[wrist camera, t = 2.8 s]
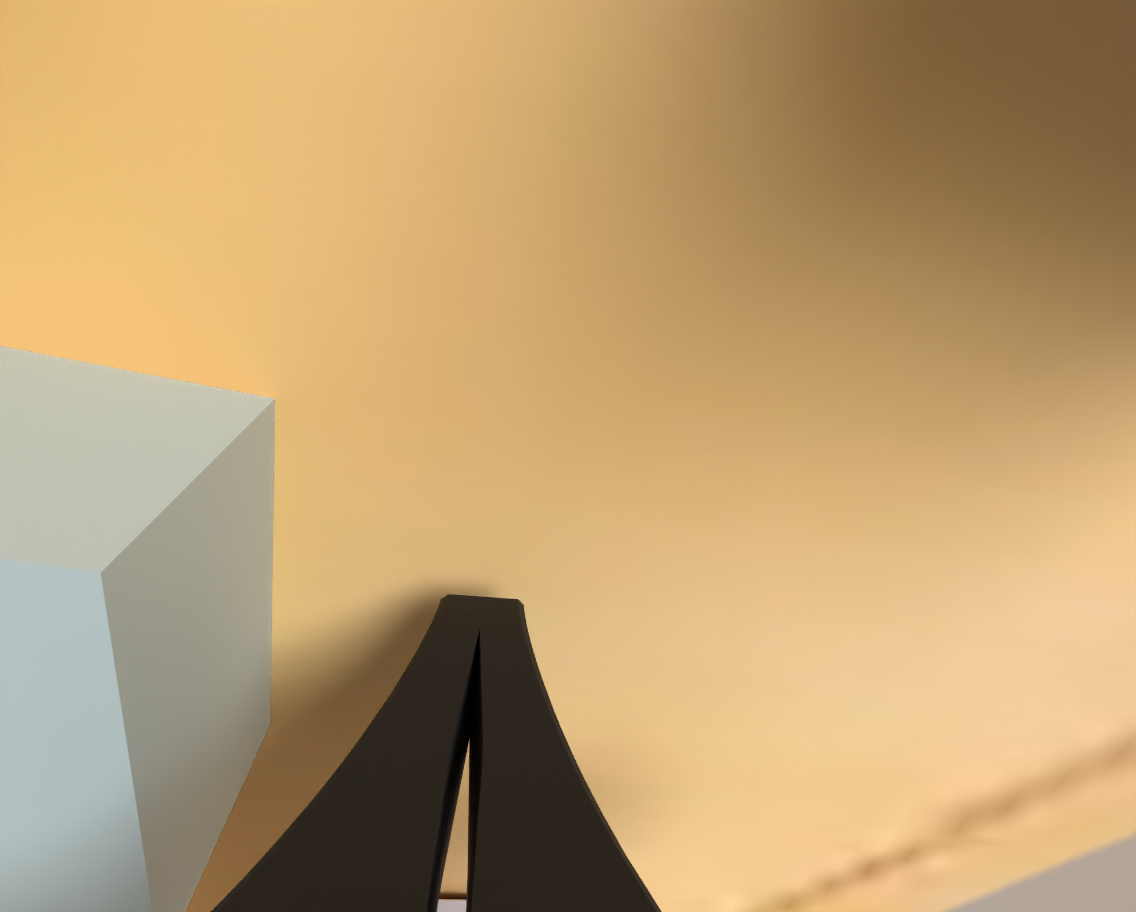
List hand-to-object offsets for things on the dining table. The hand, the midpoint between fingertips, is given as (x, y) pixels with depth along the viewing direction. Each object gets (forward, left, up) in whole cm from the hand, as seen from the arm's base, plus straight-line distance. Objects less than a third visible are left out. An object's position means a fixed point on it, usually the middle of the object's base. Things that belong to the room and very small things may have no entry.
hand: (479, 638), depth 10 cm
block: (0, +6, -1) cm, 7 cm away
